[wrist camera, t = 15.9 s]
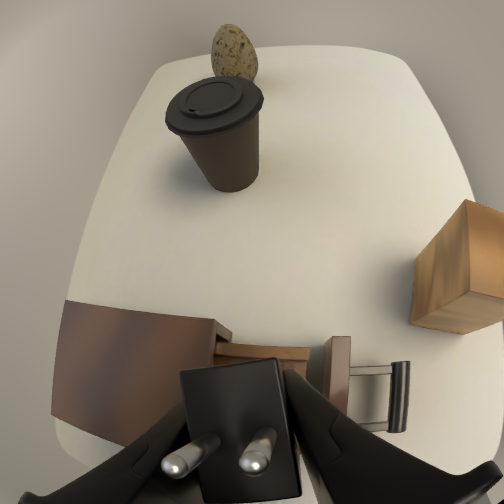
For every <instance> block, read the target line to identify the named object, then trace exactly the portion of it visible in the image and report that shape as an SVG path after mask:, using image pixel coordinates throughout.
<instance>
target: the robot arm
mask: <svg viewBox="0 0 504 504" xmlns="http://www.w3.org/2000/svg"><path fill="white" fill-rule="evenodd" d="M283 375H284V383H285V391H286V397H287V402H288V406H289V411H290V415H291V420H292V424H293V429H294V433H295V436H296V439H297V442H298V445H299V448H300V451H301V454H302V457H303V460H304V463H305V466H306V469H307V472H308V475H309V477H310V480H311V483H312V486H313V489H314V492H315V495H316V498H317V501H318V503H319V504H491V502H490V500H489V498H488V496H487V493H486V492H487V491H488V490H489V489H490V488H492V486H494V485H495V484H496V483H497V482H498V481H499V480H500V479H501V478H502V477H503V474H502V473H501V471H500V469H499V467H498V466H497V465H496V464H495V463H494V462H493V461H487V462H485V463H483V464H481V465H479V466H478V467H476V468H474V469H473V470H471V471H469V472H468V473H465V474H462V475H452V474H449V473H447V472H445V471H443V470H440V469H438V468H436V467H434V466H432V465H430V464H428V463H426V462H424V461H422V460H420V459H418V458H416V457H414V456H412V455H410V454H409V453H407V452H405V451H403V450H401V449H399V448H397V447H396V446H394V445H392V444H390V443H388V442H387V441H385V440H383V439H381V438H379V437H378V436H376V435H374V434H373V433H371V432H369V431H368V430H366V429H364V428H363V427H361V426H360V425H358V424H357V423H355V422H354V421H353V420H352V419H350V418H349V417H348V416H347V415H345V414H344V413H343V412H341V411H340V410H339V409H338V408H337V407H336V406H335V405H333V404H332V403H331V402H330V401H329V400H328V399H326V398H325V397H324V396H323V395H322V394H321V393H320V392H319V391H317V390H316V389H315V388H314V387H313V386H312V385H311V384H310V383H308V382H307V381H306V380H305V379H304V378H303V377H302V376H301V375H300V374H299V373H297V372H296V371H295V370H294V369H293V368H290V369H285V370H283ZM189 443H190V438H189V433H188V428H187V422H186V416H185V410H184V404H183V399H182V400H181V401H180V402H179V403H178V404H177V405H175V406H174V407H173V408H172V409H171V410H170V411H169V412H168V413H167V414H165V415H164V416H163V417H162V418H161V419H160V420H159V421H157V422H156V423H155V424H154V425H153V426H152V427H151V428H149V429H148V430H147V431H146V432H145V433H144V434H142V435H141V436H139V437H138V438H137V439H136V440H135V441H133V442H132V443H131V444H130V445H128V446H127V447H126V448H124V449H123V450H121V451H120V452H119V453H117V454H116V455H114V456H113V457H111V458H110V459H108V460H106V461H105V462H103V463H102V464H100V465H99V466H97V467H95V468H94V469H92V470H91V471H89V472H87V473H86V474H84V475H83V476H81V477H79V478H77V479H76V480H74V481H72V482H71V483H69V484H67V485H66V486H64V487H62V488H60V489H59V490H57V491H55V492H53V493H51V494H49V495H47V496H42V497H41V496H37V495H35V494H32V493H30V492H25V493H24V494H23V495H22V497H21V498H20V500H19V502H18V504H205V503H204V501H203V498H202V494H201V490H200V485H199V481H198V477H197V472H196V468H194V469H193V470H192V471H191V472H190V473H188V474H187V475H186V476H185V477H183V478H180V479H173V478H170V477H168V476H167V475H166V474H165V473H164V472H163V470H162V468H161V463H162V460H163V458H165V457H166V456H167V455H169V454H171V453H173V452H175V451H176V450H178V449H180V448H182V447H184V446H185V445H187V444H189ZM498 504H504V499H503V500H502V501H501V502H499V503H498Z"/></svg>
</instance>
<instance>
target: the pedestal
mask: <svg viewBox="0 0 504 504" xmlns="http://www.w3.org/2000/svg"><path fill="white" fill-rule="evenodd" d="M502 320H504V213H502V212H499V211H497V210H494V209H492V208H489V207H486V206H484V205H481V204H478V203H475V202H472V201H470V200H467V199H465V200H464V201H463V202H462V204H461V205H460V206H459V208H458V209H457V210H456V211H455V213H454V214H453V215H452V216H451V218H450V219H449V220H448V221H447V223H446V224H445V225H444V226H443V227H442V229H441V230H440V231H439V232H438V233H437V235H436V236H435V237H434V238H433V239H432V240H431V242H430V243H429V244H428V245H427V246H426V247H425V248H424V249H423V251H422V252H421V253H420V254H419V255H418V256H417V257H416V261H415V275H414V286H413V296H412V304H411V312H410V319H409V324H410V325H415V326H420V327H425V328H431V329H436V330H442V331H447V332H453V333H459V334H467V333H470V332H473V331H476V330H479V329H481V328H484V327H487V326H489V325H492V324H495V323H497V322H500V321H502Z"/></svg>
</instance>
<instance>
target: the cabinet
mask: <svg viewBox="0 0 504 504" xmlns="http://www.w3.org/2000/svg"><path fill="white" fill-rule="evenodd" d="M231 339H232V332H231V331H229V330H228V329H227V328H225V327H224V326H223V325H221V324H220V323H219V322H217V321H216V320H215V319H207V318H196V317H185V316H175V315H166V314H157V313H149V312H141V311H133V310H125V309H118V308H111V307H105V306H98V305H92V304H86V303H80V302H74V301H68V300H65V304H64V309H63V314H62V319H61V325H60V330H59V337H58V343H57V350H56V358H55V367H54V377H53V389H52V406H51V415H53V416H55V417H57V418H58V419H60V420H62V421H64V422H67V423H69V424H71V425H73V426H75V427H77V428H79V429H82V430H84V431H86V432H88V433H91V434H93V435H95V436H98V437H100V438H103V439H105V440H108V441H111V442H113V443H116V444H119V445H121V446H124V447H127V446H128V445H130V444H131V443H132V442H133V441H135V440H136V439H137V438H138V437H139V436H141V435H142V434H144V433H145V432H146V431H147V430H148V429H149V428H151V427H152V426H153V425H154V424H155V423H156V422H157V421H159V420H160V419H161V418H162V417H163V416H164V415H165V414H167V413H168V412H169V411H170V410H171V409H172V408H173V407H174V406H175V405H177V404H178V403H179V402H180V401H181V400H182V399H183V397H182V391H181V384H180V376H179V372H180V371H181V370H186V369H195V368H203V367H211V366H213V359H214V349H215V342H221V343H231Z"/></svg>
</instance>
